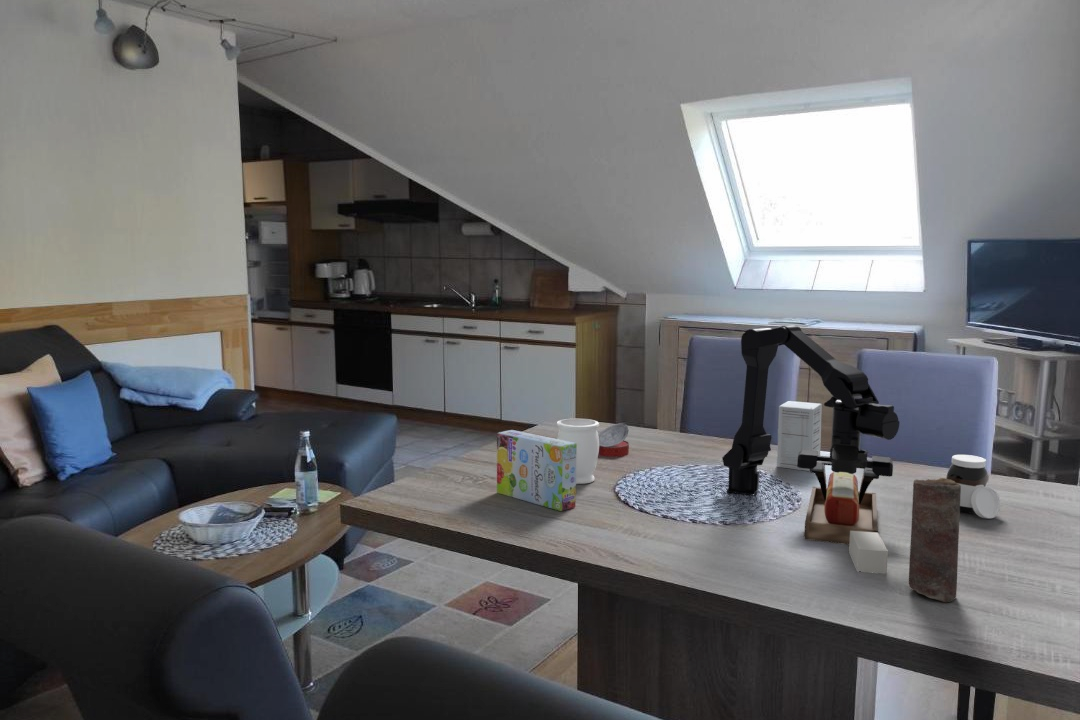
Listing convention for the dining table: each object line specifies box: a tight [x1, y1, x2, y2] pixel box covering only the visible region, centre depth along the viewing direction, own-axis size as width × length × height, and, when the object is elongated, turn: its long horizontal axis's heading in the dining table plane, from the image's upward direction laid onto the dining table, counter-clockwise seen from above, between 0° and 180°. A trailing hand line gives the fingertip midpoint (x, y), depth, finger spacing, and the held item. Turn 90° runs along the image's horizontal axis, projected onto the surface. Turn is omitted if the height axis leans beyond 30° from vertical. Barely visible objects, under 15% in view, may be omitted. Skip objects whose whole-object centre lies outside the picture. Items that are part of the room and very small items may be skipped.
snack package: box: [824, 471, 859, 526], centre depth 173 cm, size 21×7×7 cm, turn 159°
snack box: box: [496, 429, 577, 512], centre depth 189 cm, size 21×6×15 cm, turn 47°
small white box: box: [848, 531, 889, 575], centre depth 152 cm, size 5×10×4 cm, turn 168°
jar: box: [556, 417, 600, 485], centre depth 205 cm, size 11×10×15 cm
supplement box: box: [776, 400, 823, 472], centre depth 219 cm, size 10×9×17 cm
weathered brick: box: [908, 477, 961, 603], centre depth 137 cm, size 8×7×20 cm
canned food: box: [598, 422, 630, 458], centre depth 233 cm, size 11×10×10 cm
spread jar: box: [945, 454, 1002, 519], centre depth 181 cm, size 12×11×12 cm
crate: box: [803, 486, 879, 545], centre depth 174 cm, size 14×27×4 cm, turn 159°
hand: (842, 501), depth 174 cm, fingers closed on snack package, 6 cm apart
